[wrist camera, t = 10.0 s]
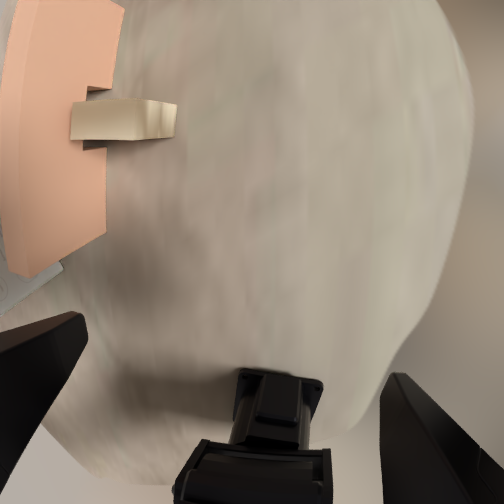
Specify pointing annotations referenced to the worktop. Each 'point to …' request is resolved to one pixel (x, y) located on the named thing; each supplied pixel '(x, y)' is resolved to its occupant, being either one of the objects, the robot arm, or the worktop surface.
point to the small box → (20, 281)
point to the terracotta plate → (53, 129)
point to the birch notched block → (122, 119)
